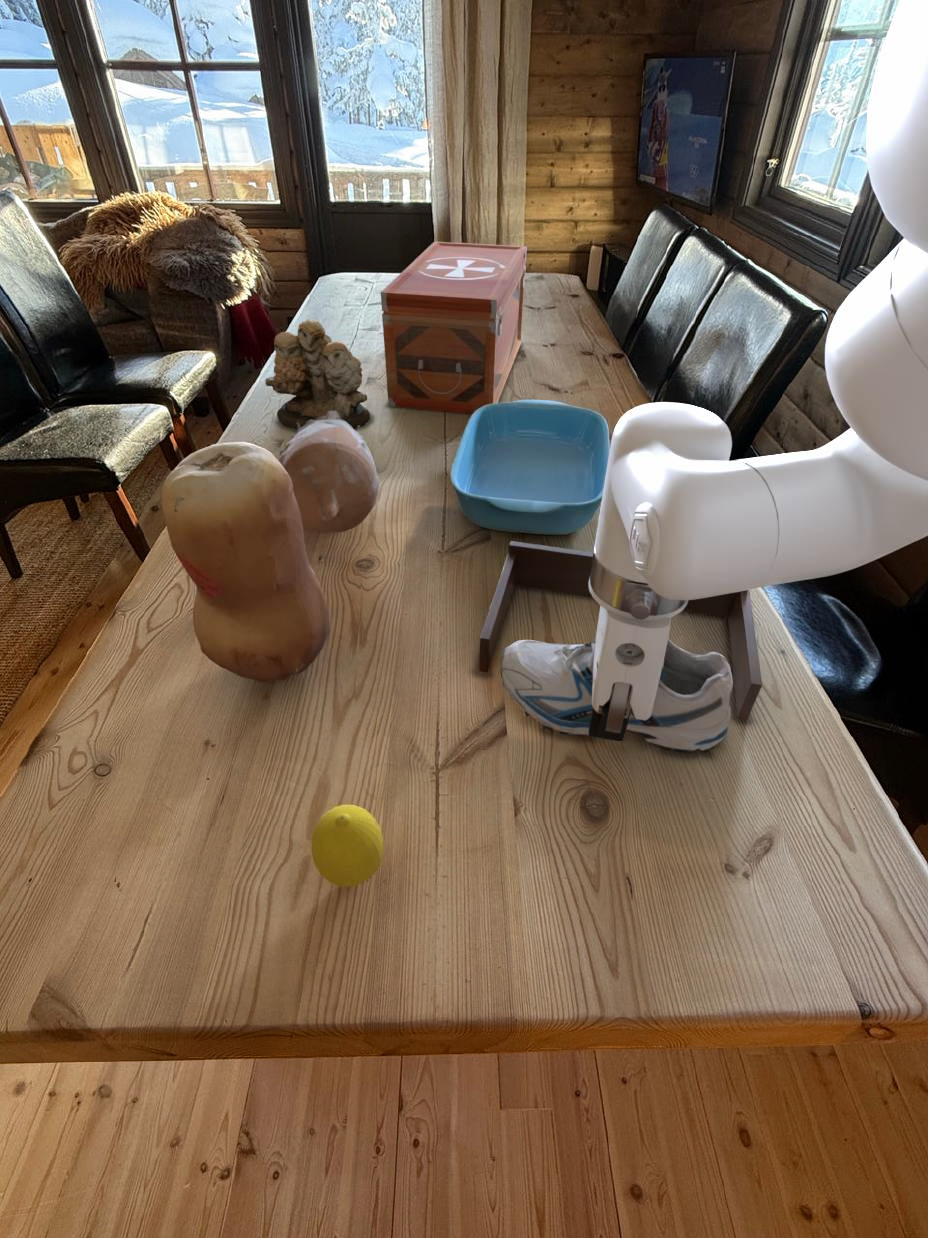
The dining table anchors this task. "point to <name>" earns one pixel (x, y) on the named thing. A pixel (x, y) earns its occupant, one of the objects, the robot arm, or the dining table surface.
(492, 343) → the wooden box
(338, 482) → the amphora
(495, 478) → the casserole dish
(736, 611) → the shoe rack
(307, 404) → the owl figurine
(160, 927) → the dining table surface
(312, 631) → the butternut squash
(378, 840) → the lemon
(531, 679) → the athletic shoe
